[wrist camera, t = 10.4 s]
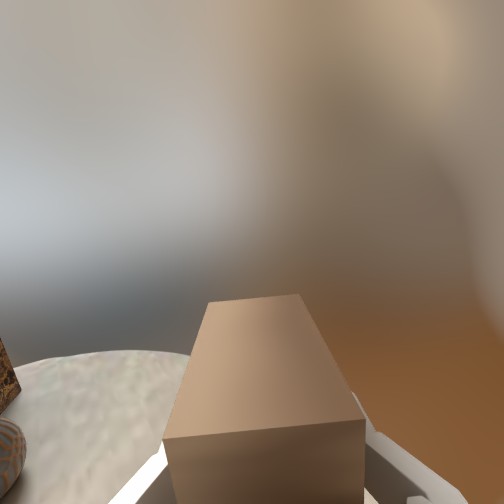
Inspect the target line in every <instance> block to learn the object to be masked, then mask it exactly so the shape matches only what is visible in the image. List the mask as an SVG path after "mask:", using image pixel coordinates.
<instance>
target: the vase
mask: <svg viewBox="0 0 504 504" xmlns="http://www.w3.org/2000/svg"><path fill="white" fill-rule="evenodd" d="M25 458H26V441H25V437H24V435H23V432H22V430H21V429H20V428H19V426H18V425H17V424H15V423H14V422H13V421H11V420H10V419H8V418H5V417H1V416H0V499H1V498H2V497H3V496H4V495H5V494H6V492H7V491H8V490H9V489H10V488H11V486H12V485H13V483H14V482H15V481H16V479H17V478H18V476H19V474H20V472H21V470H22V468H23V465H24V462H25Z"/></svg>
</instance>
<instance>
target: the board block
mask: <svg viewBox="0 0 504 504" xmlns="http://www.w3.org/2000/svg"><path fill="white" fill-rule="evenodd" d="M365 438H366V418H365V416H364V414H363V412H362V410H361V409H360V407H359V405H358V403H357V401H356V399H355V397H354V396H353V394H352V392H351V390H350V388H349V386H348V384H347V383H346V381H345V379H344V377H343V375H342V373H341V371H340V370H339V368H338V366H337V364H336V362H335V360H334V358H333V357H332V355H331V353H330V351H329V349H328V347H327V345H326V344H325V342H324V340H323V338H322V336H321V334H320V332H319V330H318V329H317V327H316V325H315V323H314V321H313V319H312V317H311V316H310V314H309V312H308V310H307V308H306V307H305V304H304V303H303V301H302V299H301V297H300V295H299V294H294V295H283V296H273V297H263V298H253V299H242V300H232V301H222V302H211V303H209V304H208V307H207V310H206V313H205V315H204V318H203V321H202V324H201V327H200V330H199V333H198V336H197V339H196V342H195V345H194V348H193V350H192V353H191V356H190V359H189V362H188V365H187V368H186V371H185V374H184V377H183V380H182V382H181V385H180V388H179V391H178V394H177V397H176V400H175V403H174V406H173V409H172V412H171V414H170V417H169V420H168V423H167V426H166V429H165V432H164V435H163V438H162V441H163V445H164V449H165V454H166V458H167V462H168V467H169V471H170V475H171V479H172V484H173V488H174V492H175V496H176V501H177V504H364V476H365Z"/></svg>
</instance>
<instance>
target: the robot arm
mask: <svg viewBox="0 0 504 504" xmlns="http://www.w3.org/2000/svg"><path fill="white" fill-rule="evenodd" d="M352 394H353V396H354V397H355V399H356V401H357V403H358V405H359V407H360V409H361V410H362V412H363V414H364V416H365V418H366V438H365V476H364V487H365V488H366V489H367V491H368V492H369V493H370V494H371V495H372V496H373V497H374V499H375V500H376V501H377V502H378V503H379V504H468V503H467V501H466V500H465V499H464V497H463V496H462V495H461V493H460V492H459V491H458V490H457V489H456V488H454V487H453V486H452V485H450V484H449V483H448V482H446V481H445V480H444V479H442V478H441V477H440V476H439V475H437V474H436V473H434V472H433V471H432V470H431V469H429V468H428V467H426V466H425V465H424V464H422V463H421V462H420V461H419V460H417V459H416V458H414V457H413V456H412V455H410V454H409V453H408V452H407V451H405V450H404V449H403V448H401V447H400V446H398V445H397V444H396V443H394V442H393V441H392V440H390V439H389V438H388V437H387V436H385V435H384V434H383V433H381V432H376V431H375V429H374V427H373V426H372V424H371V422H370V420H369V418H368V417H367V415H366V413H365V411H364V410H363V408H362V406H361V404H360V402H359V401H358V399H357V397H356V395H355V394H354V393H352ZM109 504H177V501H176V496H175V492H174V488H173V484H172V479H171V475H170V471H169V467H168V462H167V458H166V454H165V449H164V445H163V441H162V442H161V445H160V448H159V451H158V454H156V455H153V456H152V457H151V458H150V459H149V460H148V461H147V462H146V463H145V464H144V465H143V467H142V468H141V469H140V470H139V471H138V472H137V473H136V474H135V475H134V476H133V477H132V479H131V480H130V481H129V482H128V483H127V484H126V485H125V486H124V487H123V488H122V489H121V491H120V492H119V493H118V494H117V495H116V496H115V497H114V498H113V499H112V500H111V501H110V502H109Z"/></svg>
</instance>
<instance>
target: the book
mask: <svg viewBox="0 0 504 504" xmlns="http://www.w3.org/2000/svg"><path fill="white" fill-rule="evenodd" d="M20 391H21V387H20V385H19V382H18V380H17V377H16V375H15V372H14V370H13V368H12V365H11V363H10V360H9V358H8V356H7V353H6V351H5V348H4V346H3V343H2V341H1V338H0V414H1V412H2V411H3V410H4V409H5V408H6V407H7V406H8V404H9V403H10V402H11V401H12V400H13V399H14V398H15V396H16V395H17V394H18V393H19V392H20Z"/></svg>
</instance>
